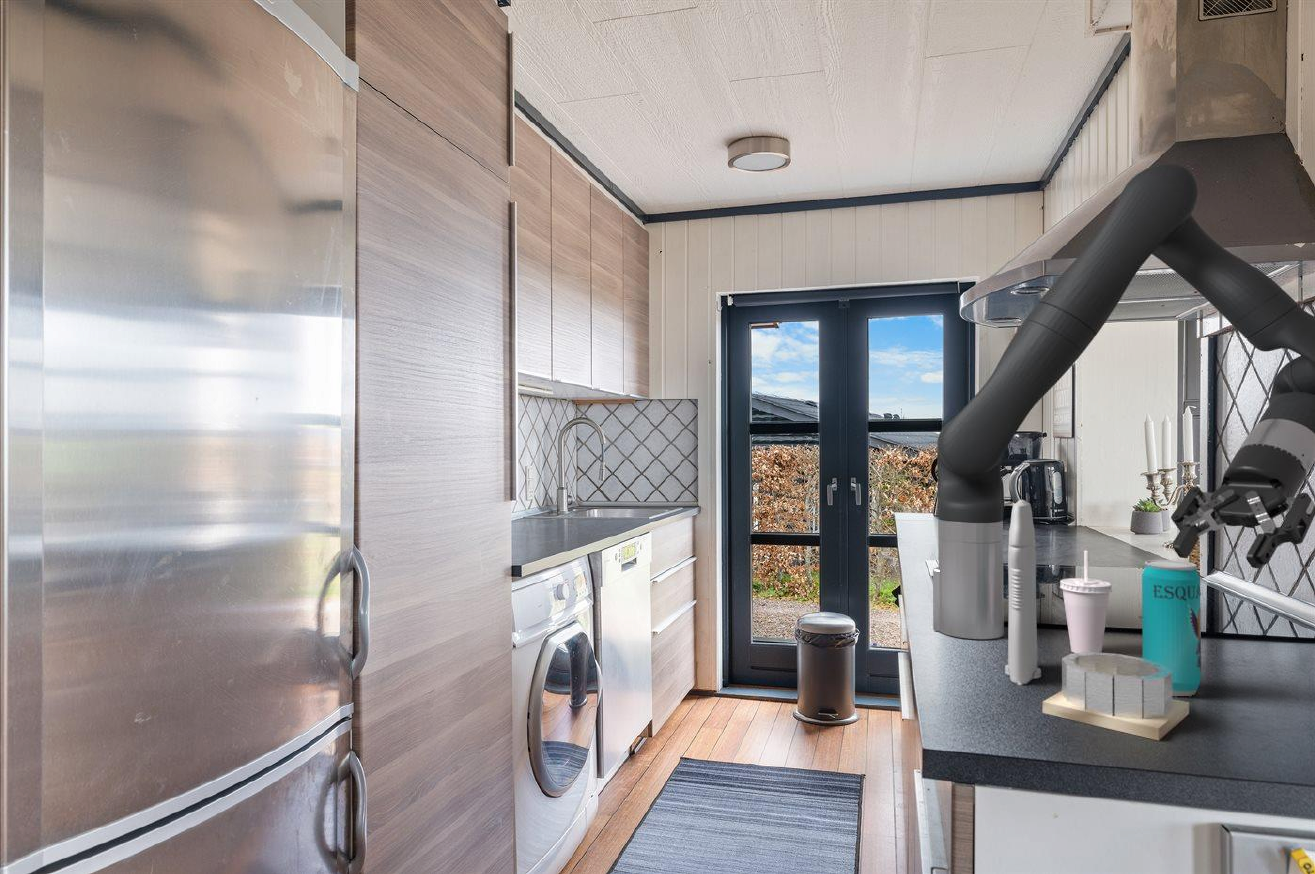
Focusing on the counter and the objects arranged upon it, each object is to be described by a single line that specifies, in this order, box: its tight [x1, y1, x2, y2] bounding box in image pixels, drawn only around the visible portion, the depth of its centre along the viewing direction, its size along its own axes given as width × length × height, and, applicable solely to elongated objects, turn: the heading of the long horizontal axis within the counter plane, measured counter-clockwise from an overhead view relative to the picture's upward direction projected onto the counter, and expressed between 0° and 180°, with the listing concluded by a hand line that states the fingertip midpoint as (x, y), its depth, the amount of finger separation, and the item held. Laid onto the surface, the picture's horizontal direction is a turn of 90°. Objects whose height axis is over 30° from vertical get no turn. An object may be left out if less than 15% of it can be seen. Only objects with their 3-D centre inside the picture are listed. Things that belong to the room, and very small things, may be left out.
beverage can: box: [1141, 559, 1202, 697], centre depth 93 cm, size 6×6×15 cm
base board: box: [1042, 690, 1190, 741], centre depth 86 cm, size 11×11×1 cm
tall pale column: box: [1004, 499, 1042, 686], centre depth 100 cm, size 11×4×22 cm, turn 149°
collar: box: [1061, 652, 1173, 719], centre depth 86 cm, size 10×10×4 cm
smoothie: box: [1059, 549, 1113, 654], centre depth 110 cm, size 6×6×14 cm
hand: (1214, 558), depth 97 cm, fingers open, 8 cm apart
